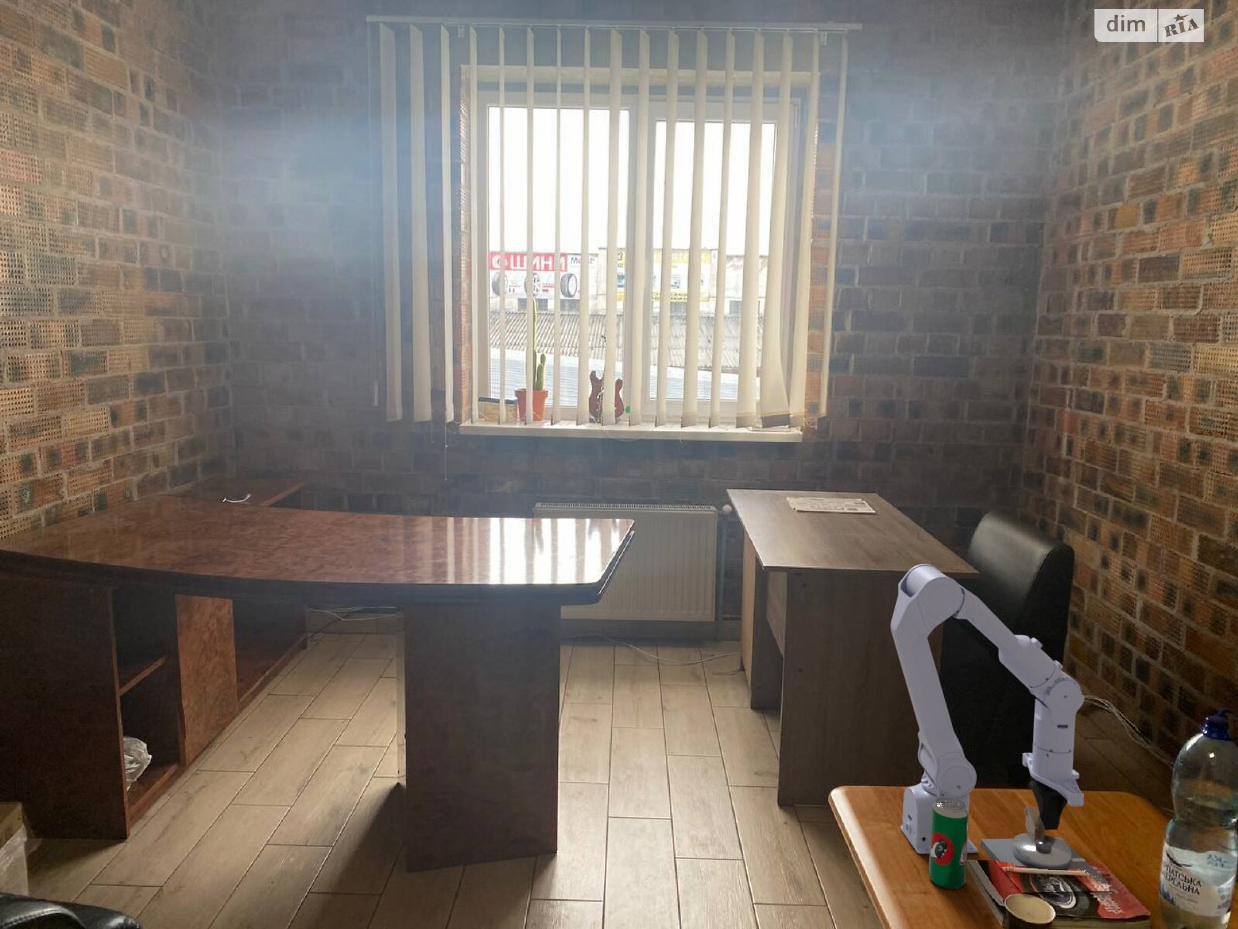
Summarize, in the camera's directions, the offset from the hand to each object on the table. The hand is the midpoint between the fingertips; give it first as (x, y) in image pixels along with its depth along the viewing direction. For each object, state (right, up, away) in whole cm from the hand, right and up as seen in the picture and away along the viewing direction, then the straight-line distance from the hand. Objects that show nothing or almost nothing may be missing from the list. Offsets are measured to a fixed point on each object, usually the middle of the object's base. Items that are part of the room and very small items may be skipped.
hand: (1049, 828), depth 141 cm
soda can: (-20, -4, -10) cm, 23 cm away
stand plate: (-4, -3, -7) cm, 8 cm away
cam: (-3, -2, -3) cm, 4 cm away
